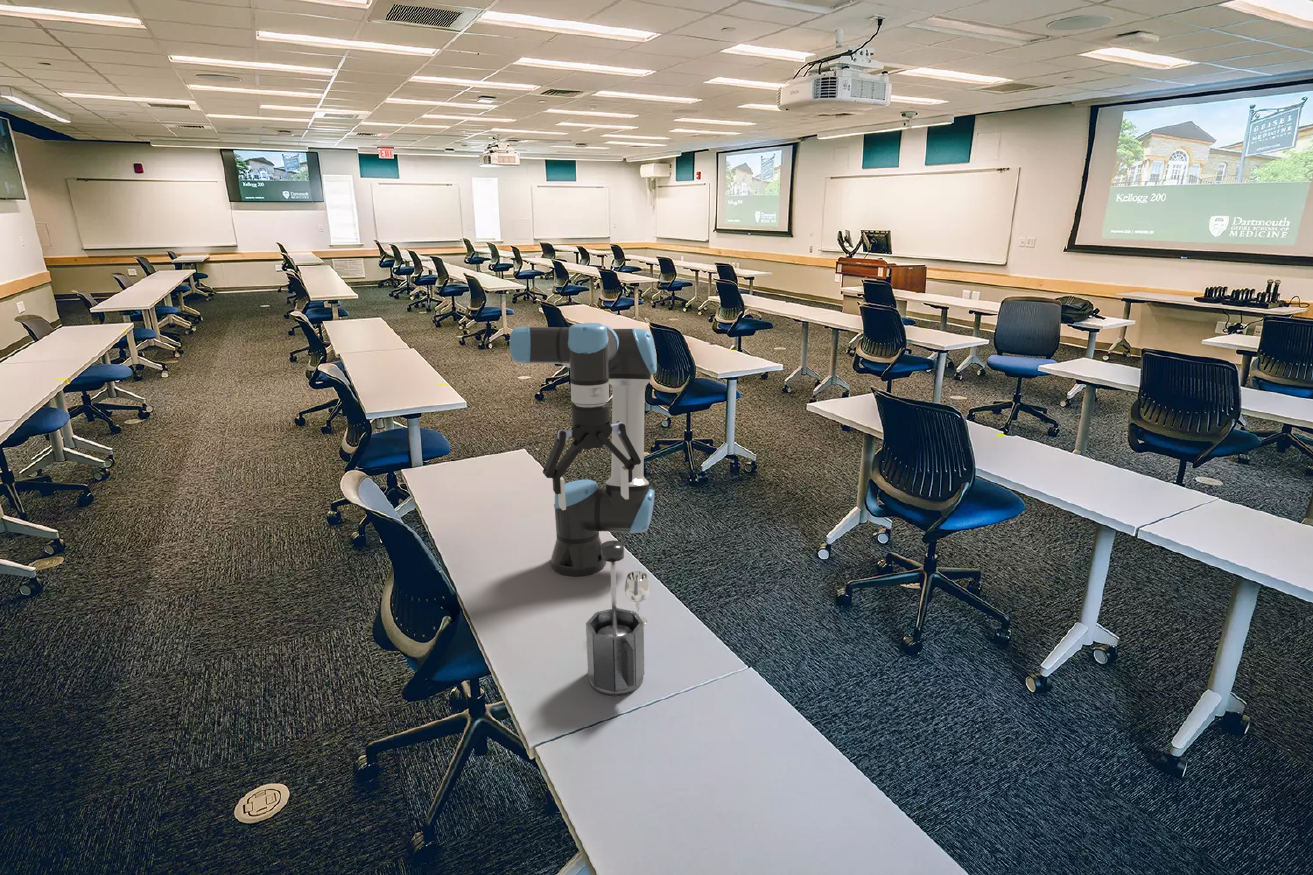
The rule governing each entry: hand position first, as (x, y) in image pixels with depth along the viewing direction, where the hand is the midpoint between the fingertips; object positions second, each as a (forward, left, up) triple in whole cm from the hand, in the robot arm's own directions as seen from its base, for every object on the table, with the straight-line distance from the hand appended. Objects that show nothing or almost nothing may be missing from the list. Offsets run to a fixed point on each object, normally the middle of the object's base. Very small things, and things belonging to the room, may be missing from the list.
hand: (594, 502), depth 142 cm
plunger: (+12, 0, -25) cm, 28 cm away
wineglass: (-6, +12, -35) cm, 37 cm away
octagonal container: (+13, 0, -35) cm, 37 cm away
